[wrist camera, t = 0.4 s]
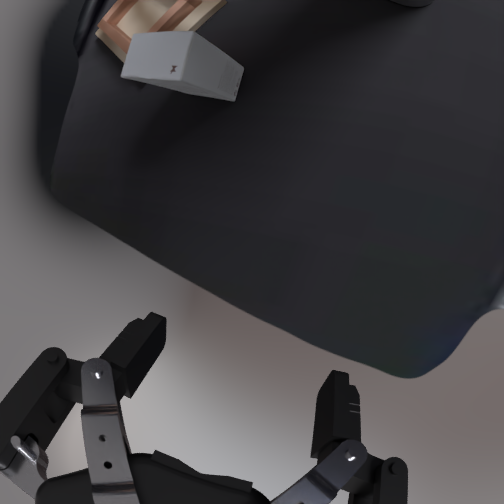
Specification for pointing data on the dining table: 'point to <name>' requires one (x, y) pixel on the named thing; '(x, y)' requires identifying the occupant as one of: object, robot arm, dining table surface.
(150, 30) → the serum stand
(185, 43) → the skincare box
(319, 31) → the dining table surface
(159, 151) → the dining table surface
